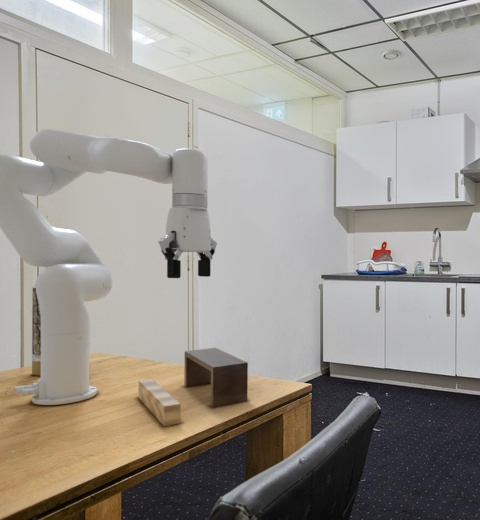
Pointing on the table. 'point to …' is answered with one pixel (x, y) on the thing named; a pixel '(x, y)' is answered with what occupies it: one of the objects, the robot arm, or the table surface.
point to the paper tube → (36, 335)
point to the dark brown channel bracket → (217, 375)
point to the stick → (159, 402)
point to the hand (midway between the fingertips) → (189, 277)
